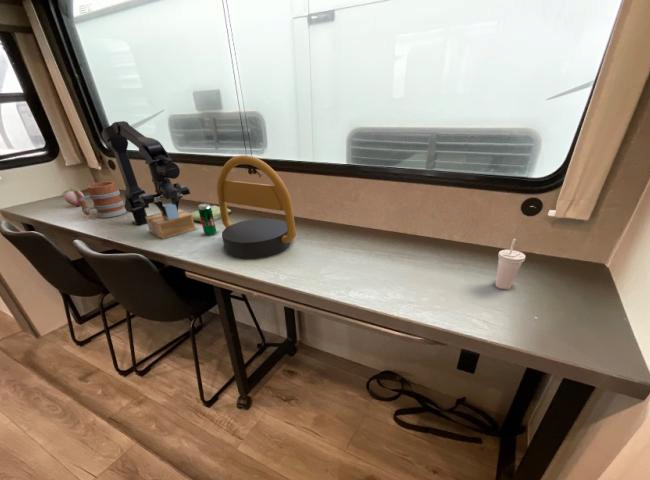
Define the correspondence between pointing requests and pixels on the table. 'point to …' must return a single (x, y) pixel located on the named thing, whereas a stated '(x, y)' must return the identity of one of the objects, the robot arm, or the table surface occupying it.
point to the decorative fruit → (72, 197)
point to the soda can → (207, 219)
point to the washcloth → (215, 213)
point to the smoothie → (508, 266)
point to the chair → (257, 233)
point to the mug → (103, 200)
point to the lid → (160, 218)
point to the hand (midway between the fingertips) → (171, 215)
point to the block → (170, 211)
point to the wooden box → (172, 227)
